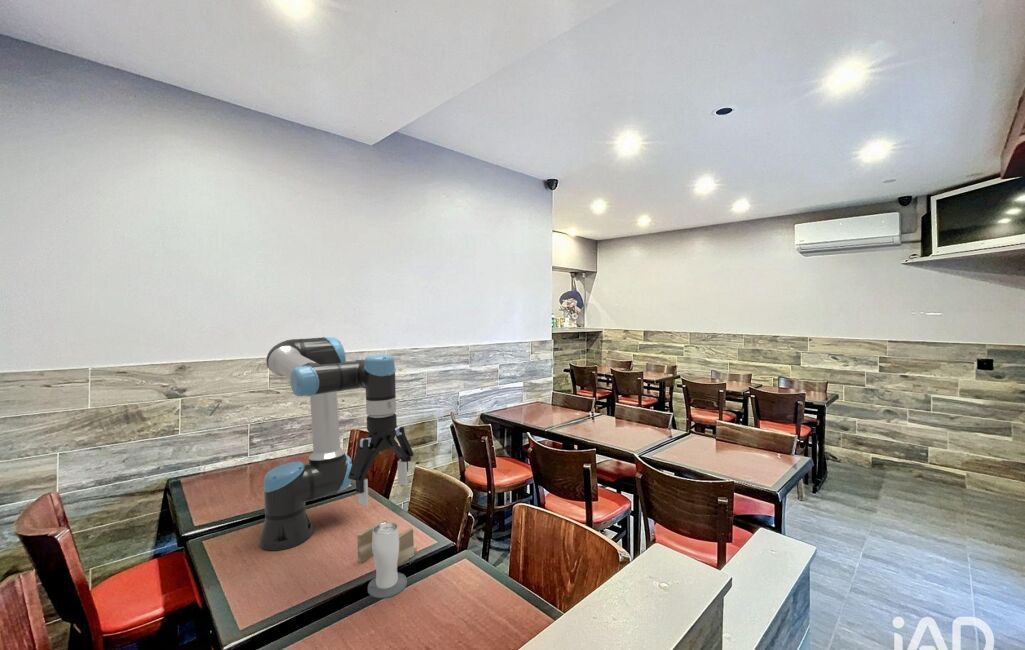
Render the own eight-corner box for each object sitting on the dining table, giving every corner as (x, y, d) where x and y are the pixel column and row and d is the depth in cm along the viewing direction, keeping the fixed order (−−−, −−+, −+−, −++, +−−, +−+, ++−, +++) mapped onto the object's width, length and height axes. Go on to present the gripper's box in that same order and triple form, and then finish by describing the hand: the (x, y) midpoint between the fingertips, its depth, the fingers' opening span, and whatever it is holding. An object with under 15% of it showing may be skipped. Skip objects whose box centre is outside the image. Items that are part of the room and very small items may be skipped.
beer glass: (393, 593, 109) (391, 535, 109) (368, 590, 110) (366, 533, 110) (405, 576, 116) (403, 522, 115) (381, 574, 117) (380, 520, 117)
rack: (358, 561, 125) (357, 534, 124) (387, 542, 134) (386, 518, 134) (388, 573, 118) (387, 545, 118) (416, 553, 128) (415, 527, 128)
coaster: (359, 590, 111) (359, 588, 111) (388, 570, 120) (388, 568, 120) (386, 603, 106) (386, 600, 106) (414, 580, 115) (414, 578, 115)
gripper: (351, 427, 99) (355, 517, 100) (424, 405, 121) (427, 479, 121) (330, 424, 103) (334, 510, 104) (405, 403, 124) (407, 475, 125)
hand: (384, 494), depth 112 cm, fingers open, 13 cm apart
